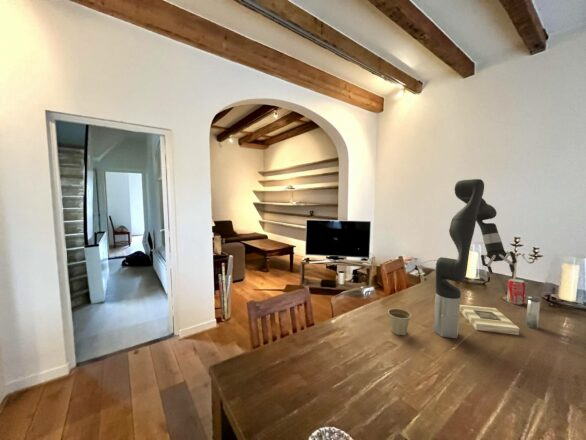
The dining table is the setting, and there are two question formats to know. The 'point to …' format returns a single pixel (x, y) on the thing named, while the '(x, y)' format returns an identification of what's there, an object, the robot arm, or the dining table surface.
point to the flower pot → (399, 321)
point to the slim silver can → (533, 311)
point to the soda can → (516, 291)
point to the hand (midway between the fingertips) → (502, 272)
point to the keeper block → (488, 319)
